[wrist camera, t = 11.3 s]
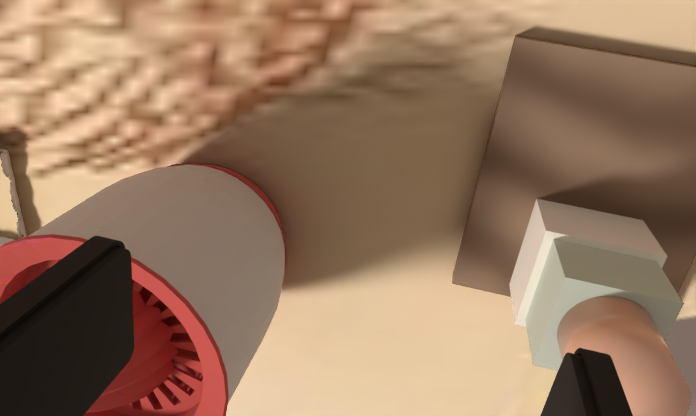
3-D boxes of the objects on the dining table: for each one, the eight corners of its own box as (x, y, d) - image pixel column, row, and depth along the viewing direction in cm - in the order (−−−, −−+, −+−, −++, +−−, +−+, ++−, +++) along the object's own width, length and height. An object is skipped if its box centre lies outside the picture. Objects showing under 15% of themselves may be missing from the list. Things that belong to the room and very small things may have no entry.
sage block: (553, 238, 33) (565, 277, 29) (656, 260, 32) (683, 303, 28) (525, 319, 36) (532, 364, 32) (620, 341, 35) (640, 390, 31)
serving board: (515, 35, 35) (516, 37, 34) (767, 78, 33) (778, 81, 32) (452, 275, 42) (452, 283, 41) (654, 320, 41) (659, 330, 39)
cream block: (536, 198, 37) (545, 230, 33) (642, 220, 37) (667, 255, 32) (509, 284, 40) (514, 324, 36) (607, 306, 40) (625, 350, 35)
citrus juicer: (81, 163, 45) (-174, 296, 27) (275, 118, 40) (119, 243, 22) (155, 322, 50) (-18, 520, 32) (333, 299, 45) (245, 517, 28)
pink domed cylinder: (573, 286, 29) (592, 345, 25) (671, 308, 28) (709, 372, 24) (545, 359, 31) (558, 425, 27) (636, 381, 31) (665, 452, 26)
